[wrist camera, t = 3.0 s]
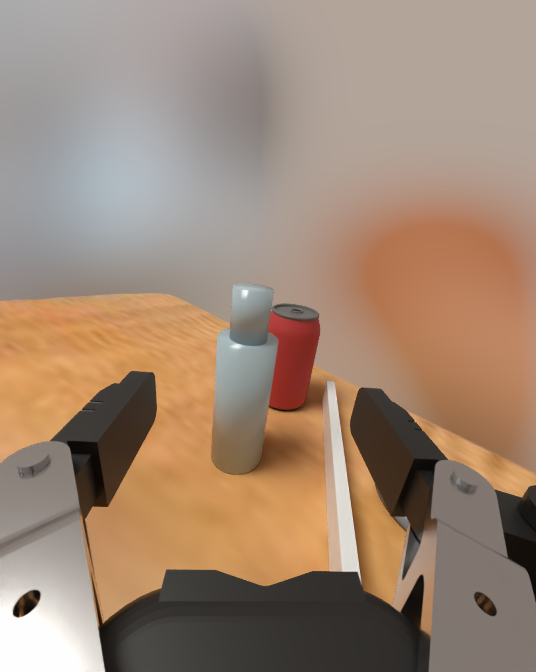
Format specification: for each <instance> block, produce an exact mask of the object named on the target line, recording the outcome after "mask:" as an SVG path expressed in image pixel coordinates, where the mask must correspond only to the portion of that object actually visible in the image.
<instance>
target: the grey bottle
mask: <svg viewBox="0 0 536 672" xmlns="http://www.w3.org/2000/svg"><path fill="white" fill-rule="evenodd" d="M273 293H274V290H273V289H272V288H270V287H267V286H263V285H258V284H249V283H240V284H235V285H233V293H232V306H231V320H230V328H228V329H225V330H223V331H221V332H220V333H219V334H218V338H217V356H216V373H215V391H214V409H213V427H212V445H211V458H212V461H213V463H214V465H215V466H216V467H217V468H218V469H219V470H221V471H223V472H225V473H228V474H235V475H237V474H244V473H247V472H250V471H251V470H253V469H254V468H255V467H256V466H257V465H258V464H259V462H260V460H261V455H262V448H263V441H264V435H265V428H266V421H267V415H268V408H269V402H270V395H271V388H272V382H273V375H274V368H275V362H276V355H277V348H278V339H277V337H276V336H274V335H273V334H271V333H269V332H268V331H269V323H270V316H271V308H272V301H273Z"/></svg>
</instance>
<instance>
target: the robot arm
mask: <svg viewBox="0 0 536 672" xmlns="http://www.w3.org/2000/svg"><path fill="white" fill-rule="evenodd" d="M156 411H157V403H156V385H155V375H154V373H152V372H139V371H131V372H130V373H129V374H128V375H127V376H126V377H125V378H124V379H123V380H122V381H121V382H120V383H119V384H116V383H114V384H112V385H110V386H108V387H106V388H105V389H103V390H101V391H100V392H99V393H98V394H97V395H96V396H95V397H94V398H93V399H91V400H90V403H89V402H88V403H87V404H86V405H85V406H84V407H83V408H82V411H79V412H78V413H77V414H76V415H75V416H74V417H73V418H72V419H71V420H70V421H69V422H68V423H67V424H66V425H65V426H64V427H63V428H62V429H61V430H60V431H59V432H58V433H57V434H56V435H55V436H54V437H53V438H52V439H51V440H50V441H48V442H41V443H37V444H34V445H31V446H28V447H26V448H23V449H21V450H19V451H17V452H15V453H14V454H12V455H11V456H9V457H8V458H6V459H5V460H4V461H3V462H2V463H1V464H0V672H536V485H534V486H530V487H529V488H528V489H527V491H526V492H525V494H524V495H523V497H522V498H521V497H518V496H514V495H511V494H508V493H504V492H501V491H498V490H494V488H493V487H492V486H491V484H490V483H489V482H488V481H487V480H486V479H485V478H484V477H483V476H481V475H480V474H479V473H478V472H476V471H475V470H473V469H471V468H470V467H468V466H466V465H464V464H461V463H459V462H455V461H451V460H448V459H447V458H446V457H445V455H444V454H443V453H442V452H441V451H440V450H439V449H438V447H437V446H436V445H435V444H434V443H433V442H432V440H431V439H430V438H429V437H428V436H427V435H426V433H425V432H424V431H422V429H421V428H420V426H419V425H418V424H417V423H415V422H414V419H413V418H412V417H411V416H410V415H409V414H408V412H407V411H406V410H404V409H403V408H401V407H400V406H399V405H397V404H396V403H394V402H392V401H391V400H390V399H389V398H388V396H387V395H386V394H385V393H384V392H383V390H381V389H376V388H360V389H359V391H358V393H357V397H356V401H355V405H354V408H353V412H352V416H351V420H350V429H351V434H352V436H353V438H354V441H355V443H356V445H357V447H358V449H359V451H360V453H361V455H362V457H363V459H364V461H365V463H366V466H367V468H368V470H369V472H370V474H371V476H372V478H373V480H374V482H375V484H376V486H377V488H378V490H379V493H380V495H381V497H382V499H383V501H384V503H385V505H386V507H387V509H388V511H389V513H390V515H391V516H393V517H407V519H408V521H409V526H408V528H407V531H406V536H405V542H404V547H403V553H402V559H401V565H400V570H399V576H398V582H397V587H396V592H395V595H394V599H393V602H392V605H390V604H388V603H386V602H385V601H383V600H382V599H380V598H378V597H376V596H374V595H372V594H370V593H368V592H365V591H363V588H362V585H361V581H360V578H359V575H358V572H339V571H312V572H309V573H306V574H303V575H300V576H297V577H294V578H291V579H288V580H285V581H282V582H279V583H276V584H273V585H270V586H260V585H257V584H254V583H252V582H249V581H246V580H243V579H240V578H237V577H234V576H231V575H228V574H225V573H222V572H220V571H217V570H166V573H165V577H164V581H163V584H162V588H161V589H158V590H155V591H152V592H150V593H148V594H145V595H143V596H141V597H139V598H137V599H136V600H134V601H132V602H131V603H129V604H127V605H126V606H124V607H123V608H122V609H120V610H119V611H118V612H116V613H115V614H114V615H112V616H111V617H110V618H109V619H108V620H107V621H105V622H104V619H103V614H102V609H101V604H100V599H99V593H98V588H97V583H96V577H95V571H94V566H93V560H92V554H91V549H90V543H89V537H88V532H87V526H86V521H85V518H86V517H87V515H88V513H89V512H90V510H91V508H92V507H93V506H95V507H108V506H109V504H110V502H111V500H112V499H113V497H114V495H115V493H116V491H117V489H118V488H119V486H120V484H121V482H122V480H123V478H124V477H125V475H126V473H127V471H128V469H129V467H130V465H131V464H132V462H133V460H134V458H135V456H136V454H137V453H138V451H139V449H140V447H141V445H142V443H143V442H144V440H145V438H146V436H147V434H148V432H149V431H150V429H151V427H152V425H153V423H154V420H155V417H156Z"/></svg>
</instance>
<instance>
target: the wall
mask: <svg viewBox="0 0 536 672" xmlns="http://www.w3.org/2000/svg"><path fill="white" fill-rule="evenodd" d="M322 407H323V430H324V454H325V478H326V501H327V525H328V549H329V571H339V572H358V575H359V578H360V581H361V576H360V569H359V561H358V554H357V546H356V539H355V532H354V524H353V517H352V509H351V502H350V494H349V487H348V479H347V472H346V464H345V457H344V449H343V442H342V434H341V427H340V419H339V412H338V404H337V397H336V390H335V382H333V381H328V380H327V381H326V386H325V390H324V394H323V398H322ZM361 585H362V584H361Z"/></svg>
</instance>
